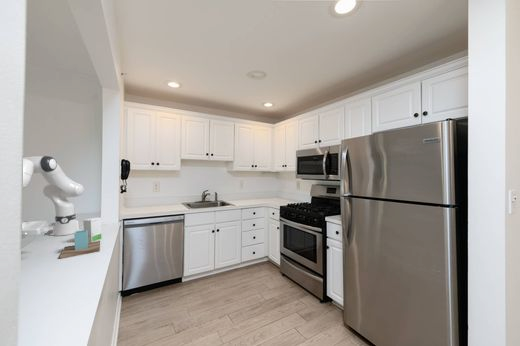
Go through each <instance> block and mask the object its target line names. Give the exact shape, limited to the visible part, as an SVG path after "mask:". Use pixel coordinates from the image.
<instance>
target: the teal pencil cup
mask: <svg viewBox="0 0 520 346" xmlns="http://www.w3.org/2000/svg"><path fill="white" fill-rule="evenodd" d="M73 235H74V237H73V239H74V245H75V250H80V249H85V248H88V230H84V229H83V230H82V231H75V233H73Z"/></svg>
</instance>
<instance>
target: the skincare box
mask: <svg viewBox="0 0 520 346" xmlns="http://www.w3.org/2000/svg"><path fill="white" fill-rule="evenodd" d="M83 230H88V243H90V242H95V241H101V240H102V239H103V233H102V232H103V230H102V218H101V217H91V218H87V219H83Z"/></svg>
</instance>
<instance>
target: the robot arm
mask: <svg viewBox="0 0 520 346" xmlns="http://www.w3.org/2000/svg"><path fill="white" fill-rule="evenodd" d="M23 157H24V158H23V188H22V189H24V188H26V187H28V185H29V183H30V181H31V179H32V176H33V174H38V173H39V174H41V175H42V177H43V178H44V180H45V181H46V182H47V183H48V184H46V185H45V186H44V187H43V190H42V191H43V192H42V193H43V194H44V196H45V197H46V198H48V199H50V200H51V202H52V203H53V206H54V209H55V211H54V212H55V216H54V220H55V221H54V222H48V221H47V220H37V221H36V220H35V221H33V220H32V221H29V220H26V221H21V222H22V238H21V239H26V238H28V237H36V236H40V235H41V234H42V233H45V232H47V231H52V233H50V234H49V236H54V237H58V236H59V237H60V236H67V235H68V236H69V235H72V234H73V235H74V233H75V231H81V230H82V228H81V227H80V224H79V221H78V220H77V219H76V218H77V217H76V212H75V204H74V202H71V201H69V200H68V199H67V198H76V197H80V196H82V195H83V194H84V191H85V187H84V186H83V184H82V183H78V182H76V181H74V180H73V179H71V178H70V177H68V176H67V174H65V172H64V171H63V169H62V168H61V166H60V165H59V163H58V162H57V160H56V159H55V158H54V157H53V156H48V155H43V156H42V155H33V156H23Z"/></svg>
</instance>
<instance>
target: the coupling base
mask: <svg viewBox="0 0 520 346" xmlns="http://www.w3.org/2000/svg"><path fill="white" fill-rule="evenodd" d="M100 251H101V240H99V241H95V242H90V243H88V248H85V249H80V250H75V244H74V245H73V244H72V245H67V246H64V248H63V250H62V251H61V253H60V256H59V259H60V260H61V259H66V258H71V257H77V256H81V255H88V254H91V253H98V252H100Z"/></svg>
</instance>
